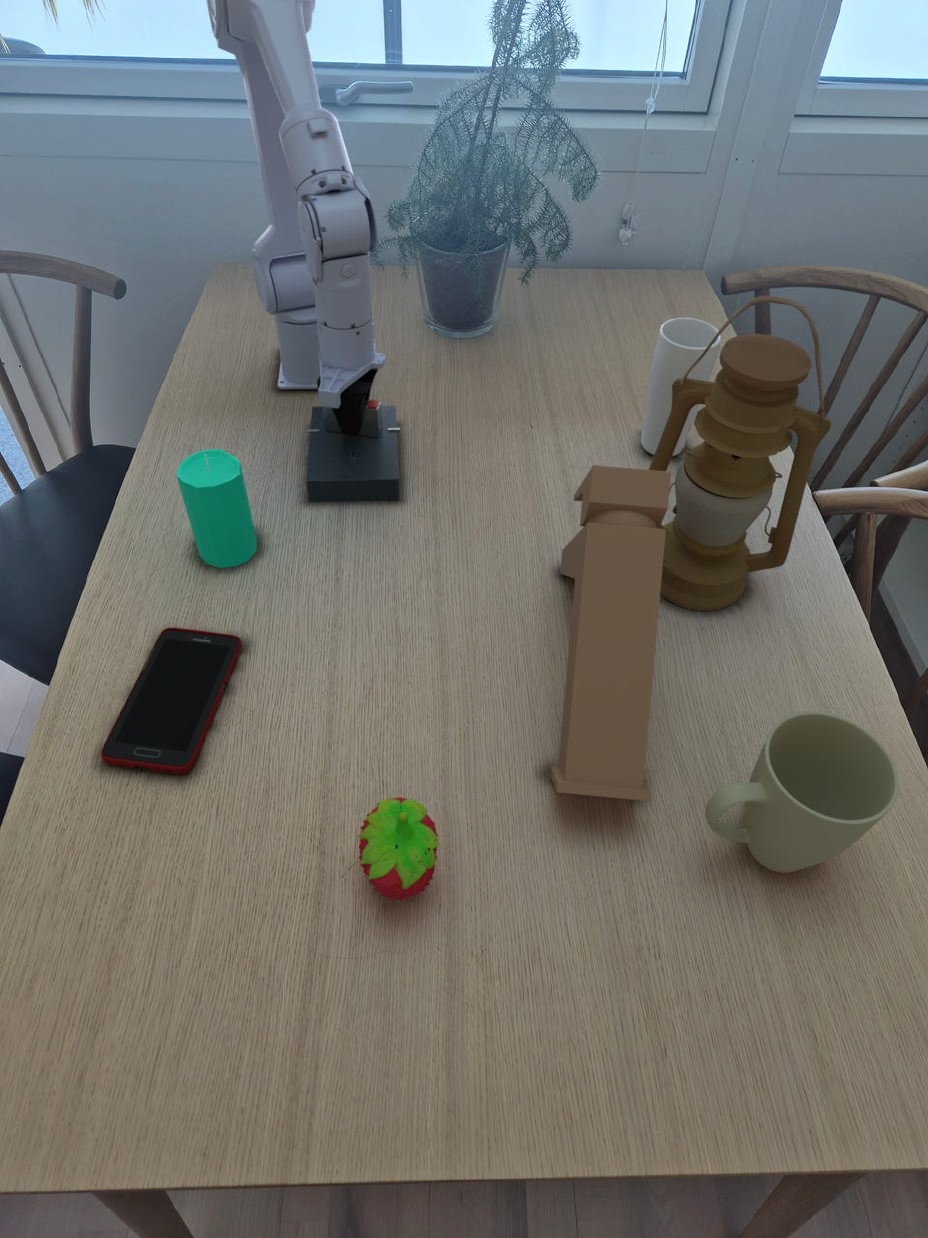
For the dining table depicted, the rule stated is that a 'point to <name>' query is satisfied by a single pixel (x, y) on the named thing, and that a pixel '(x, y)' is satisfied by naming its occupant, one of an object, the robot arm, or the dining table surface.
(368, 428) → the tap handle
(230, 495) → the candle
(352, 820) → the dining table surface
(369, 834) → the strawberry
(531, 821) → the dining table surface
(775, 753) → the mug
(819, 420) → the lantern
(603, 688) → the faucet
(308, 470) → the plate
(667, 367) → the white cup
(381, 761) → the dining table surface
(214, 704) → the cell phone
